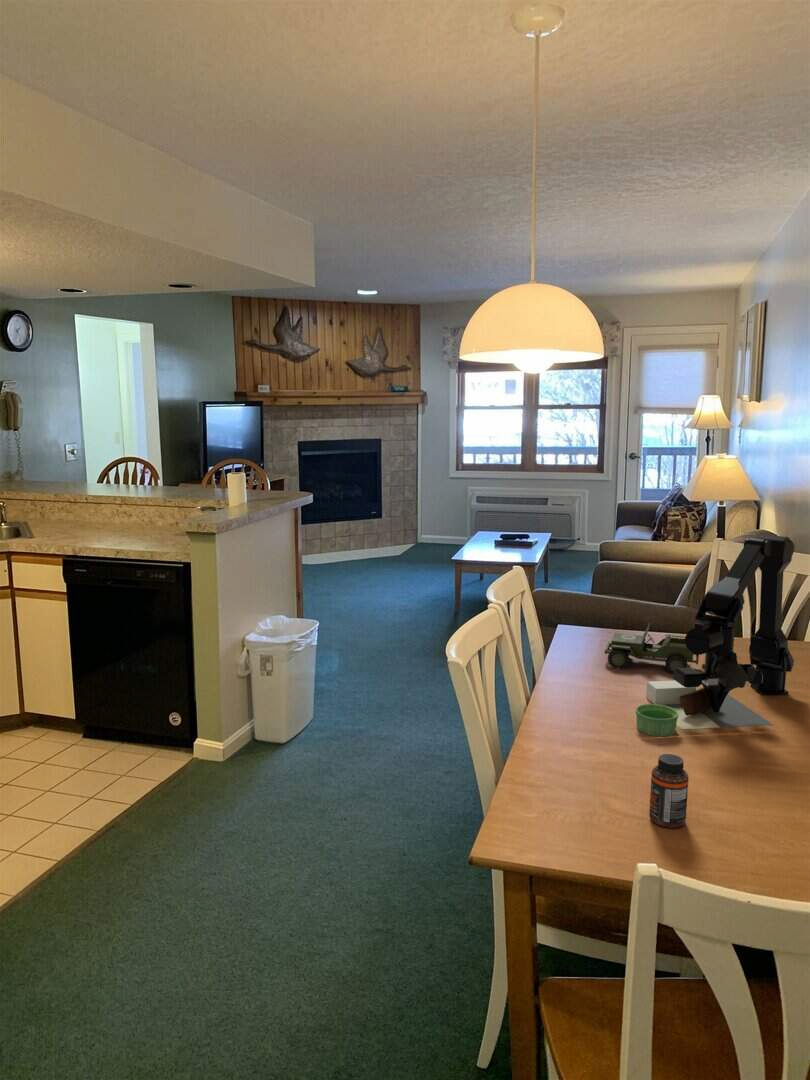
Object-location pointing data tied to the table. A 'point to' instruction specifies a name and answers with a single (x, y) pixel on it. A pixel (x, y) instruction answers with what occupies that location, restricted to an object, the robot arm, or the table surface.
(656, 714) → the ramekin
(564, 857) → the table surface
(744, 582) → the robot arm
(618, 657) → the toy jeep
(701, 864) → the table surface
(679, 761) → the supplement bottle
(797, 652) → the table surface
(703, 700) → the brick
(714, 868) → the table surface
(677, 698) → the block
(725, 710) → the grey mat
